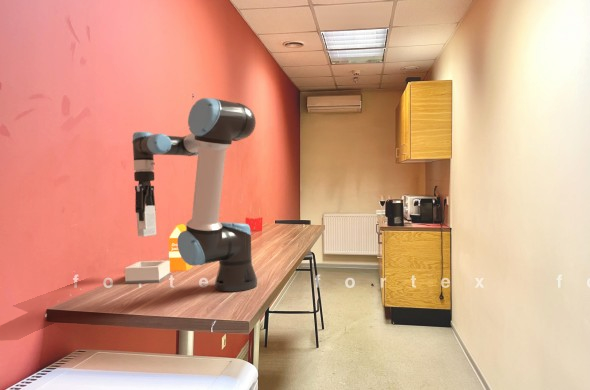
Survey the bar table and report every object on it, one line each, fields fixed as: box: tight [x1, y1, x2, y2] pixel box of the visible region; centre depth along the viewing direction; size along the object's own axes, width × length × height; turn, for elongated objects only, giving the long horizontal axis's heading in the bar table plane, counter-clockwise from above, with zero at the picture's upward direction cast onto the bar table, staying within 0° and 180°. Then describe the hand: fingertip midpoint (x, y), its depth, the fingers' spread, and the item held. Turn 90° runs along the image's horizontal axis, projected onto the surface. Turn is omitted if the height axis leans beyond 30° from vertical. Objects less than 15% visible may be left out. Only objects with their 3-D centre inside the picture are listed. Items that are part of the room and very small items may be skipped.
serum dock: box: [124, 260, 171, 284], centre depth 156 cm, size 13×13×6 cm
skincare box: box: [136, 205, 157, 238], centre depth 155 cm, size 6×4×12 cm
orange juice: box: [168, 223, 194, 272], centre depth 174 cm, size 8×9×20 cm
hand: (146, 228), depth 155 cm, fingers closed on skincare box, 7 cm apart
